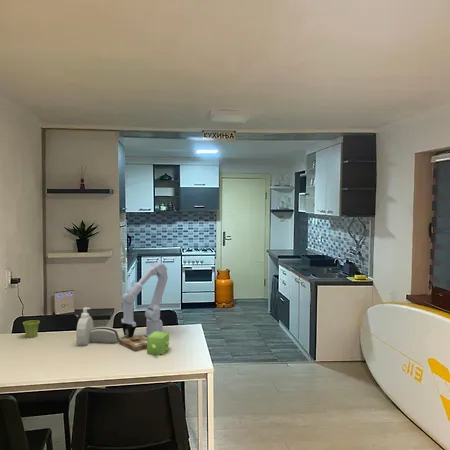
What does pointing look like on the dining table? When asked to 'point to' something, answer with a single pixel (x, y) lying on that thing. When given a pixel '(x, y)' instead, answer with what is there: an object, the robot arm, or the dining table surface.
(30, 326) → the plant pot
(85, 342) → the soap bottle
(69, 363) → the dining table surface
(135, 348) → the jig
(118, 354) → the dining table surface
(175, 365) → the dining table surface
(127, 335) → the mottled grey cylinder
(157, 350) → the gearbox
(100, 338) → the grey rounded piece
